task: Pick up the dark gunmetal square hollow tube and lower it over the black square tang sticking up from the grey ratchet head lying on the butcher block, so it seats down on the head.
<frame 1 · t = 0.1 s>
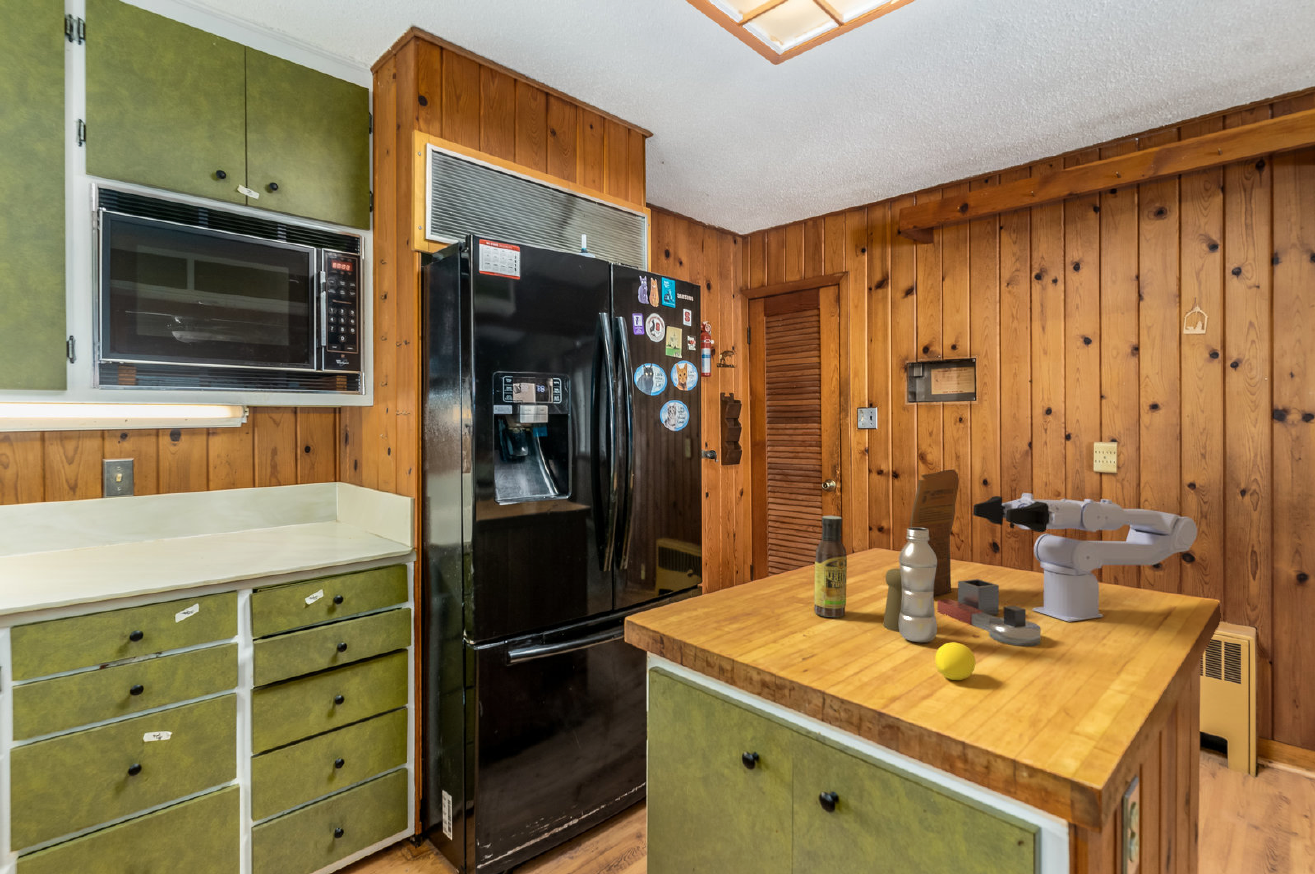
hand: (990, 512, 118), 22 cm above the counter, tool horizontal, fingers open, 7 cm apart
pancake mix bag: (931, 594, 140), on the counter
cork: (899, 627, 118), on the counter
plastic bottle: (917, 641, 111), on the counter
ratchet: (1014, 638, 112), on the counter
lemon: (955, 679, 95), on the counter
square hollow tube: (977, 612, 127), on the counter
sauce bottle: (830, 615, 126), on the counter
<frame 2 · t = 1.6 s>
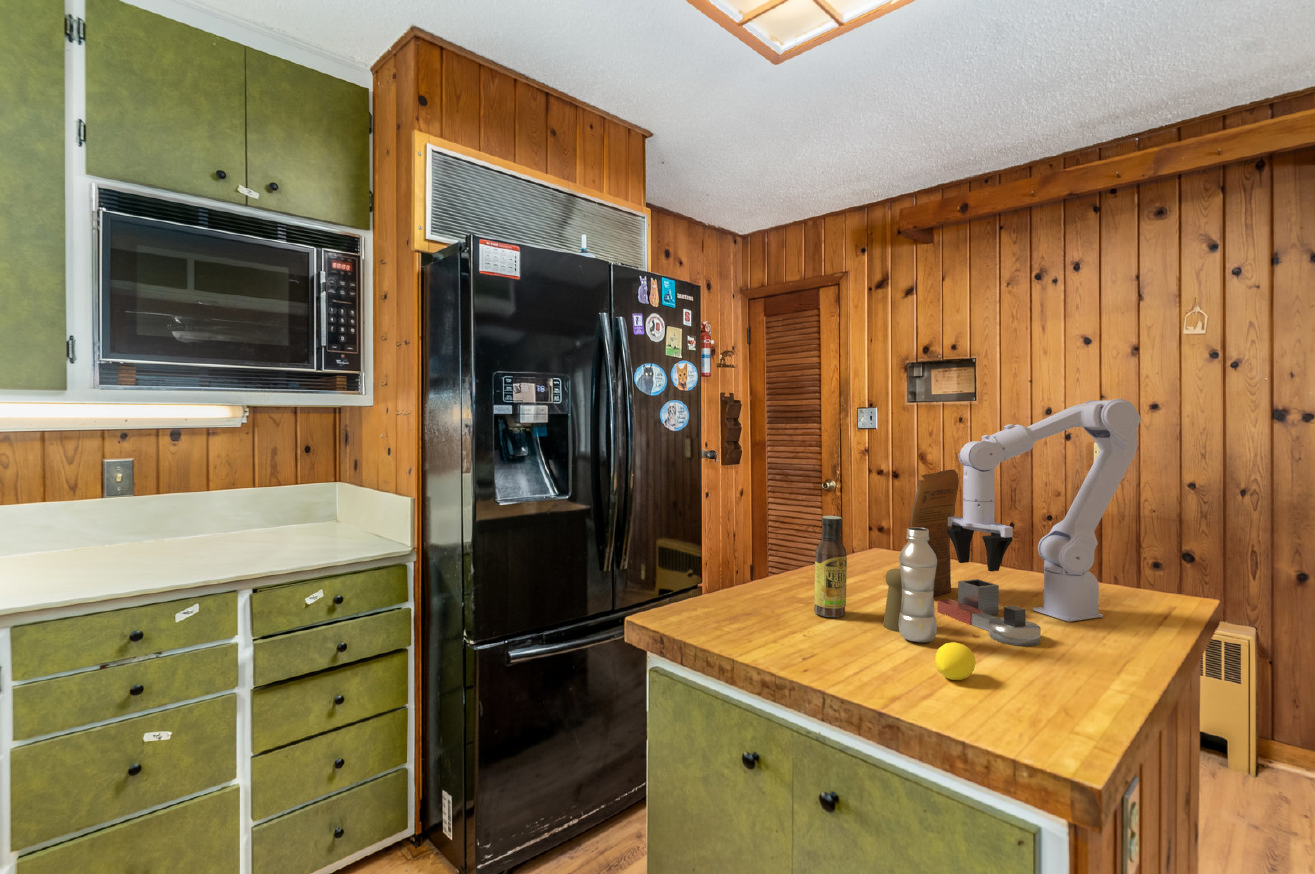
hand: (978, 566, 127), 9 cm above the counter, tool pointing down, fingers open, 7 cm apart
nothing on the counter moved.
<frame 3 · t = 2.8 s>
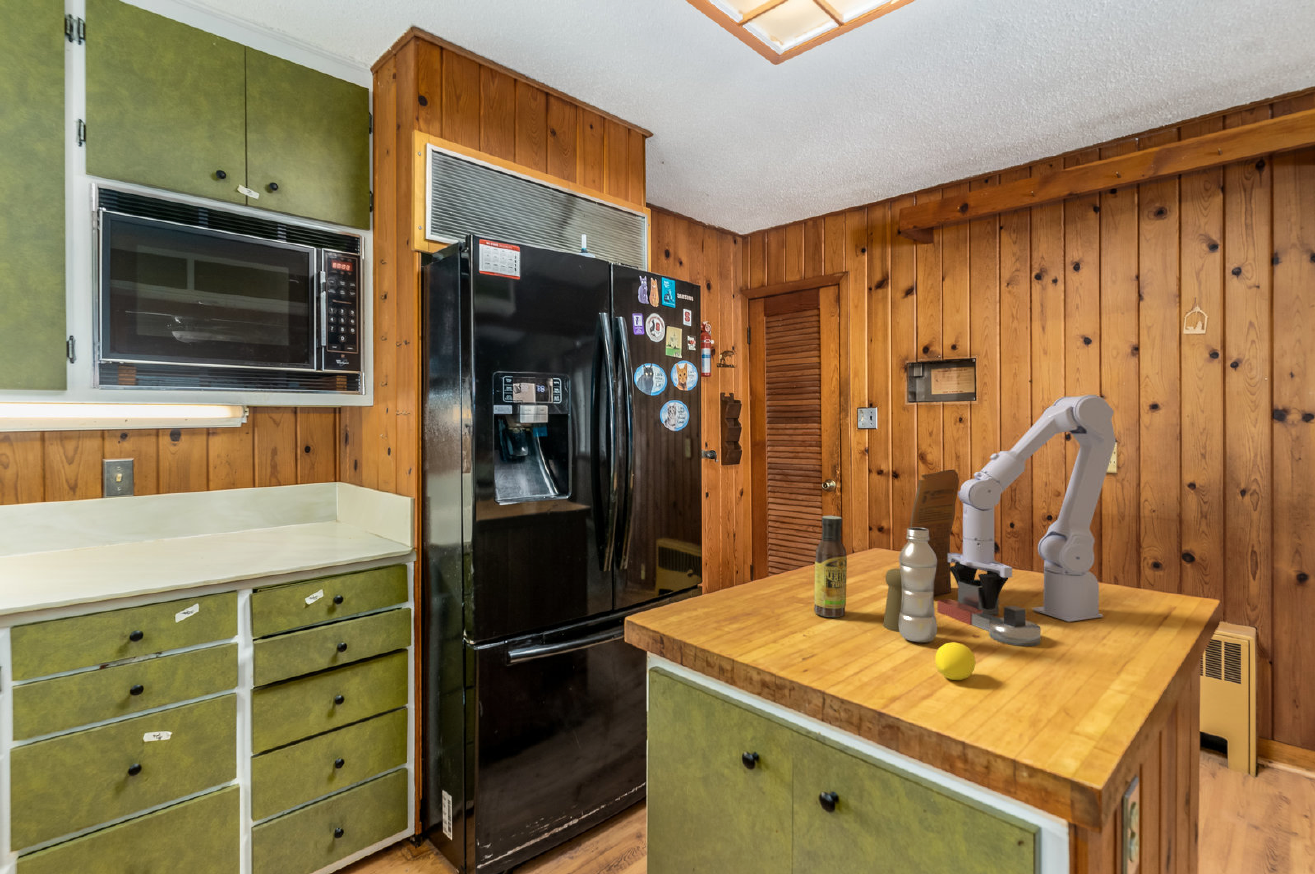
hand: (978, 604, 127), 2 cm above the counter, tool pointing down, fingers closed on square hollow tube, 5 cm apart
square hollow tube: (977, 612, 127), on the counter, touching gripper
everything else where it was.
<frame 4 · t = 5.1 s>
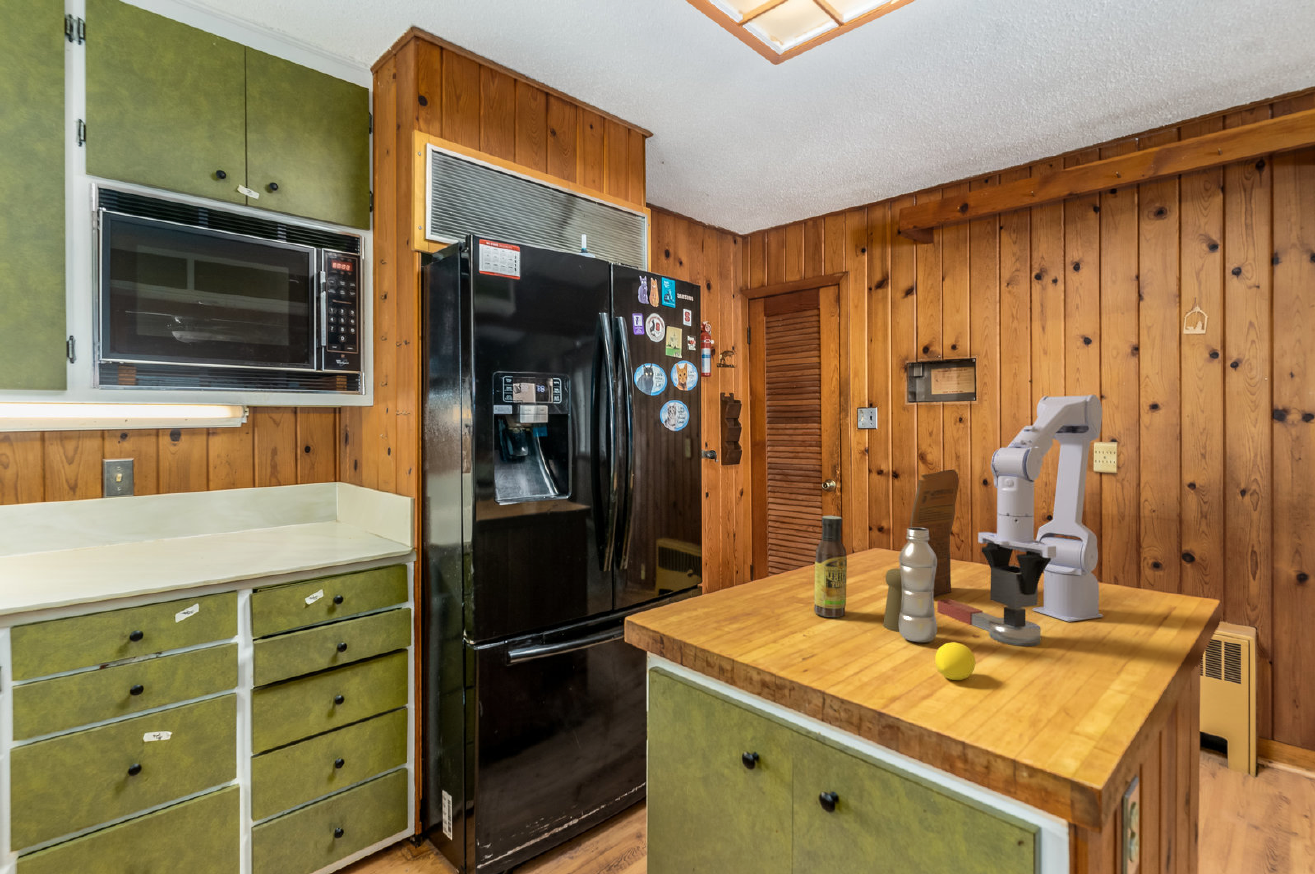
hand: (1014, 589, 111), 9 cm above the counter, tool pointing down, fingers closed on square hollow tube, 5 cm apart
square hollow tube: (1013, 602, 111), point 7 cm above the counter, touching gripper
everything else where it was.
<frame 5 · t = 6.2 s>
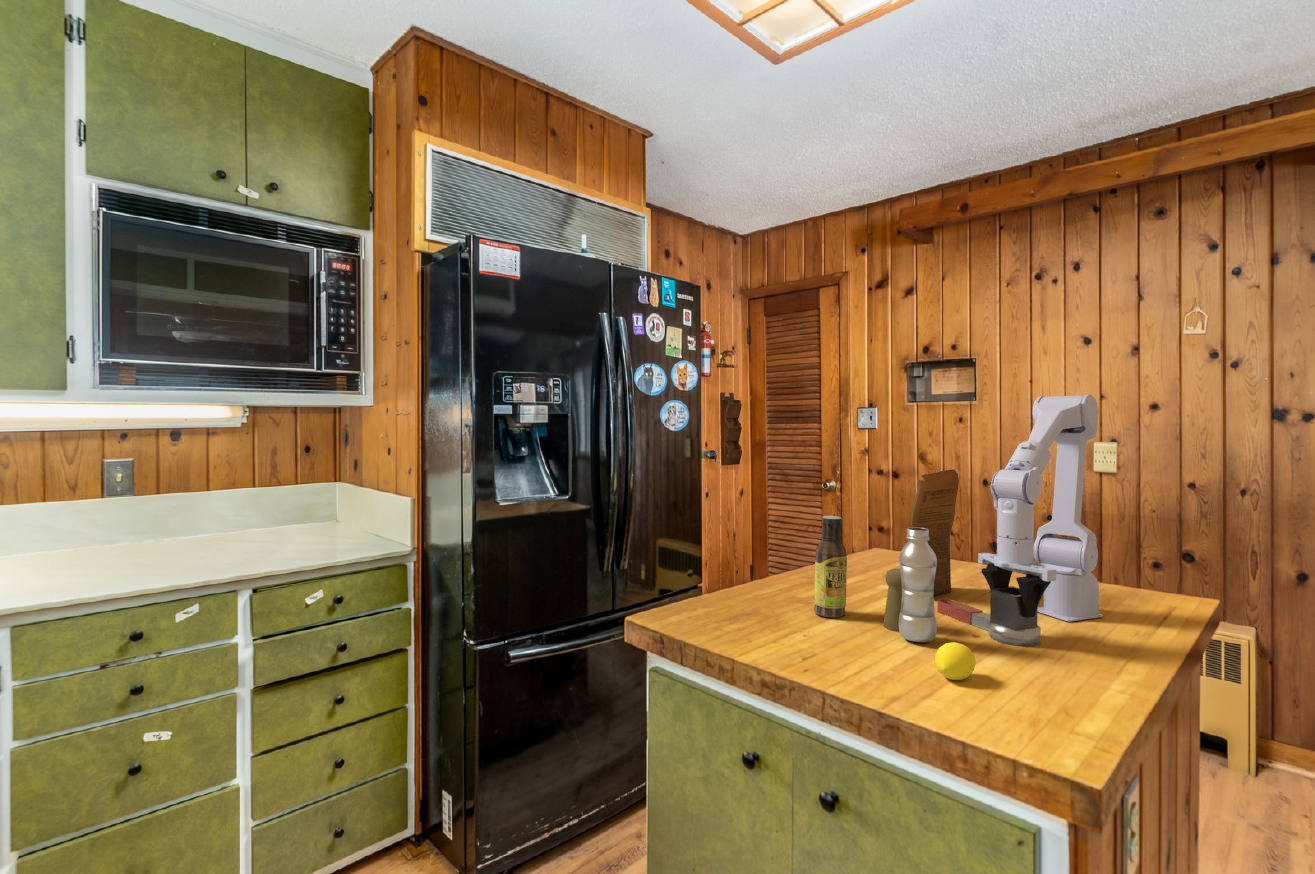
hand: (1014, 611, 111), 5 cm above the counter, tool pointing down, fingers closed on square hollow tube, 5 cm apart
square hollow tube: (1013, 624, 112), point 3 cm above the counter, touching gripper
everything else where it was.
when the fingers open (5 cm above the counter, at t = 7.2 s): square hollow tube stays where it is, resting on ratchet.
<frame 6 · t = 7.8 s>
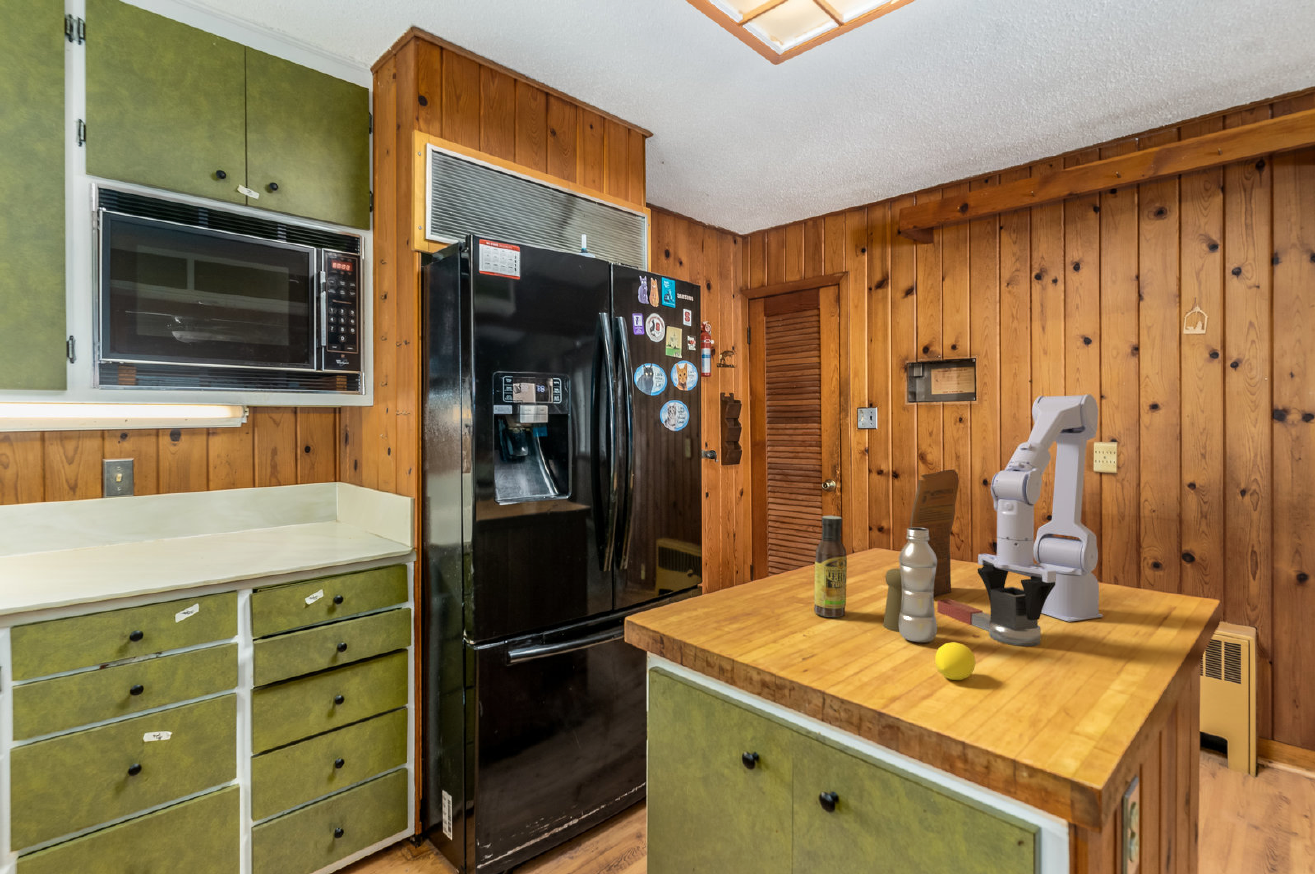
hand: (1014, 612, 111), 5 cm above the counter, tool pointing down, fingers open, 7 cm apart
square hollow tube: (1013, 624, 111), point 2 cm above the counter, touching ratchet
everything else where it was.
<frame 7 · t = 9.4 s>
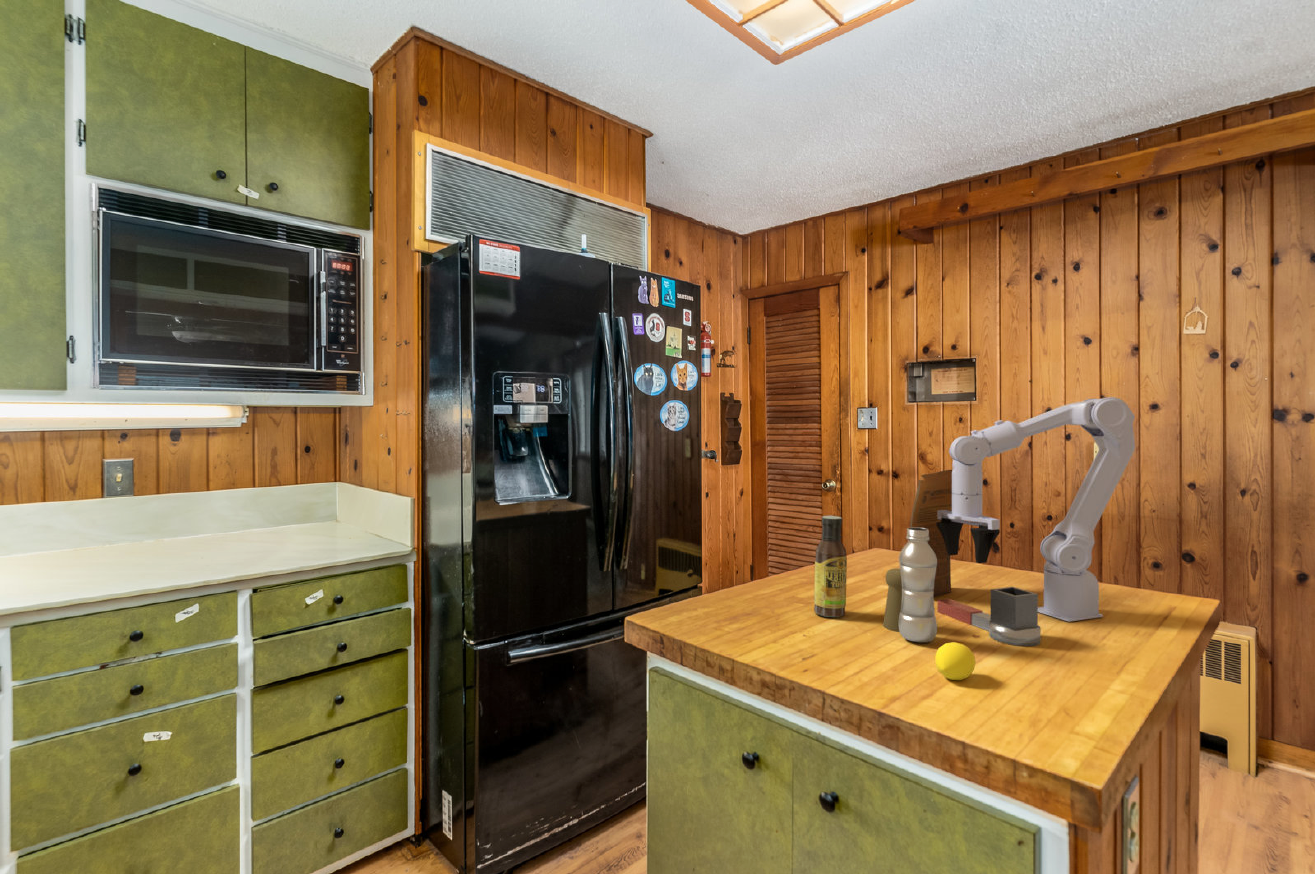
hand: (966, 558, 129), 10 cm above the counter, tool pointing down, fingers open, 7 cm apart
nothing on the counter moved.
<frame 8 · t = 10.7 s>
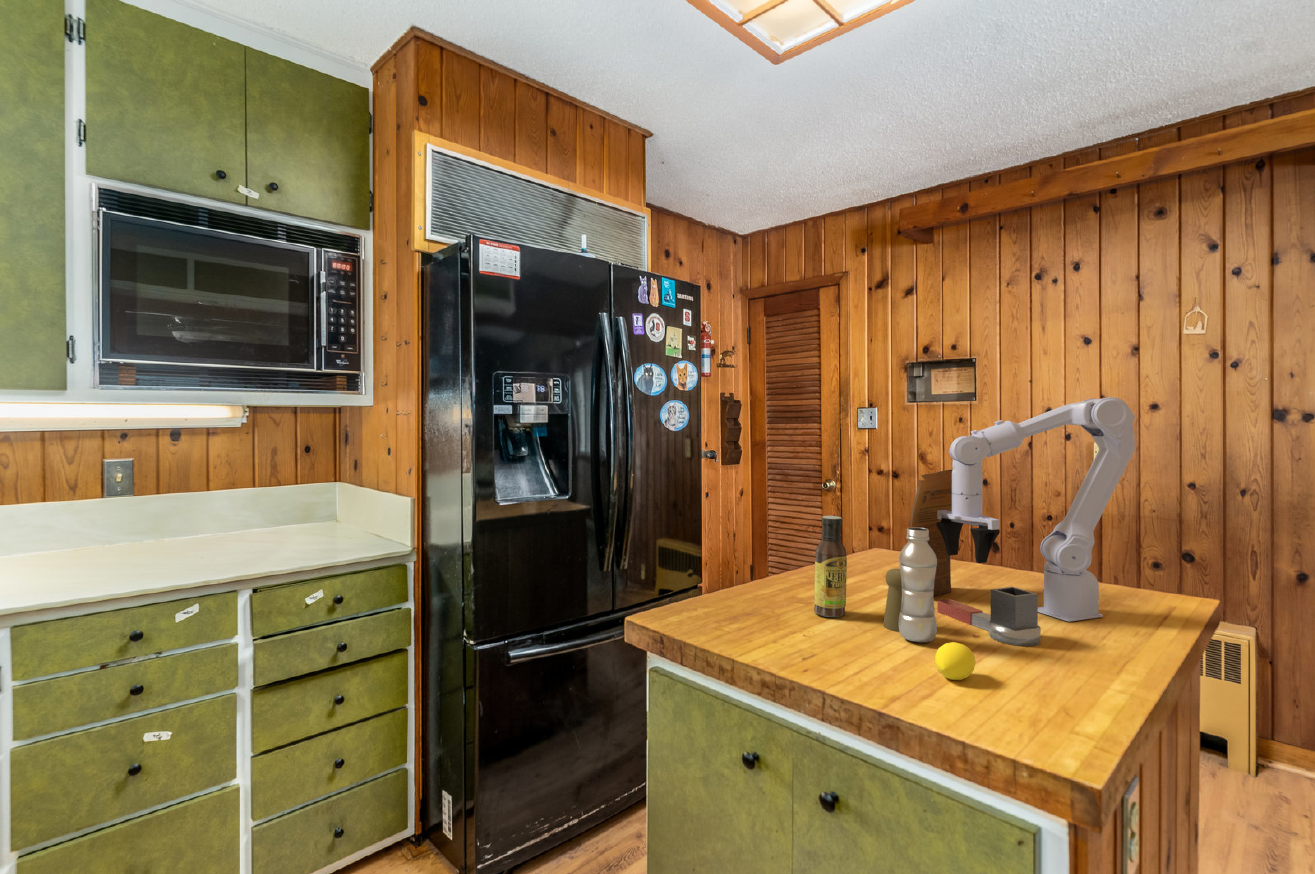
hand: (966, 558, 129), 10 cm above the counter, tool pointing down, fingers open, 7 cm apart
nothing on the counter moved.
at the end: square hollow tube 0.2 cm off-centre on the ratchet, point 2.5 cm above the ratchet's base; square hollow tube tilted 0°; the gripper is holding nothing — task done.
